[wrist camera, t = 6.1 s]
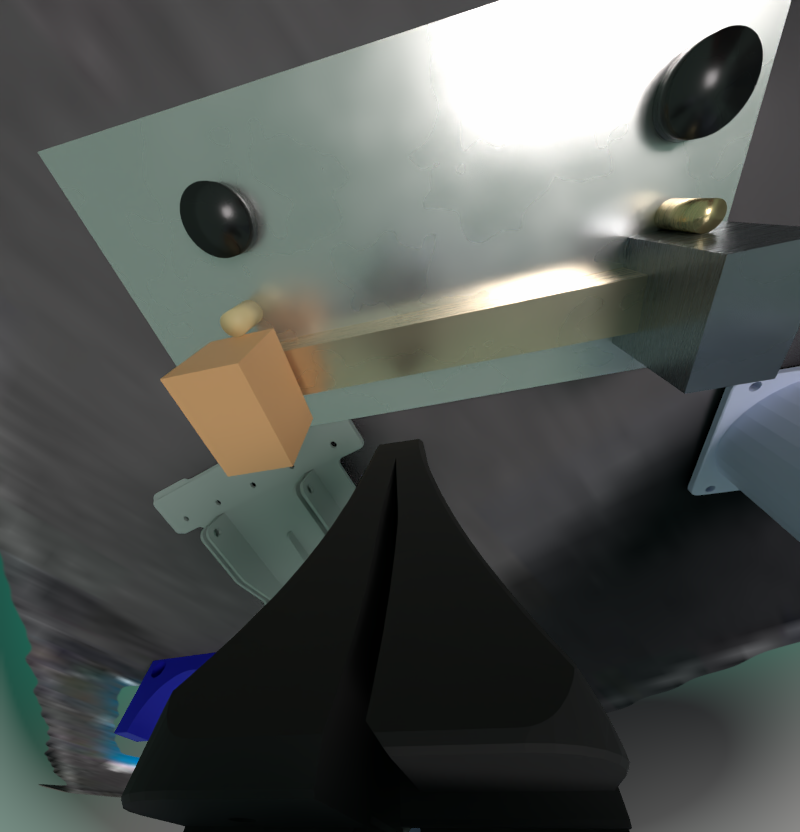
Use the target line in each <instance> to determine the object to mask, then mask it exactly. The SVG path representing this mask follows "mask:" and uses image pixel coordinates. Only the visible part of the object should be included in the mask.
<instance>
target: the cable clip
mask: <svg viewBox="0 0 800 832" xmlns="http://www.w3.org/2000/svg"><path fill="white" fill-rule="evenodd" d="M214 654H215V653H208V654H201V655H193V656H186V657H178V658H171V659H164V660H156V661H153V662H152V664H151V666H150V668H149V670H148V672H147V673H146V675H145V677H144V679H143V681H142V683H141V685H140V686H139V688H138V690H137V692H136V694H135V696H134V697H133V699H132V701H131V703H130V705H129V707H128V708H127V710H126V712H125V714H124V716H123V718H122V720H121V721H120V723H119V725H118V727H117V729H116V730H115V732H114V733H115V734H117V735H120V736H123V737H126V738H128V739H131V740H134V741H136V742H139V741H148V740H149V738H150V736H151V734H152V732H153V730H154V728H155V725H156V723H157V721H158V719H159V717H160V715H161V713H162V711H163V709H164V707H165V705H166V703H167V701H168V699H169V697H170V695H171V693H172V692H173V690H174V689H176V688H177V687H178V686H179V685H180V684H181V683H183V682H184V681H185V680H186V679H187V678H188V677H189V676H191V675H192V674H193V673H194V672H195V671H196V670H197V669H198V668H200V667H201V666H202V665H203V664H204V663H205V662H206V661H207V660H209V659H210V658H211V657H212V656H213V655H214Z"/></svg>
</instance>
